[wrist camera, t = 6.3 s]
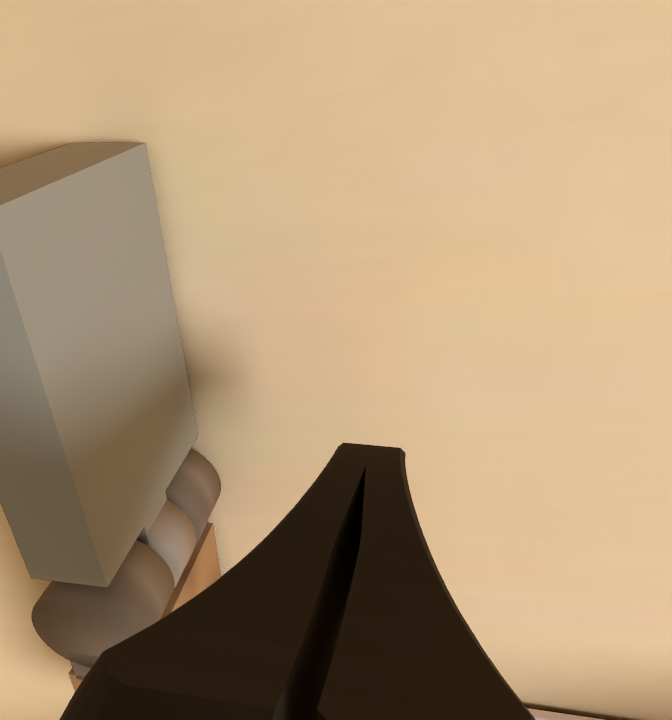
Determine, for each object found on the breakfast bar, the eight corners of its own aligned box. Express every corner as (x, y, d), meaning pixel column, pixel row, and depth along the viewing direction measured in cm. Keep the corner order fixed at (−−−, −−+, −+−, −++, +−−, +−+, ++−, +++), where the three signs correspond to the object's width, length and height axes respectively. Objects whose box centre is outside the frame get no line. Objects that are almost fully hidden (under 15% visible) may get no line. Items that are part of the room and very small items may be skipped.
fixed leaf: (248, 680, 26) (197, 847, 21) (181, 670, 26) (115, 830, 21) (215, 447, 20) (132, 602, 15) (128, 439, 20) (18, 586, 15)
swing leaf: (225, 516, 21) (153, 678, 16) (145, 508, 22) (49, 662, 16) (164, 142, 15) (15, 211, 10) (53, 143, 16) (-144, 209, 10)
